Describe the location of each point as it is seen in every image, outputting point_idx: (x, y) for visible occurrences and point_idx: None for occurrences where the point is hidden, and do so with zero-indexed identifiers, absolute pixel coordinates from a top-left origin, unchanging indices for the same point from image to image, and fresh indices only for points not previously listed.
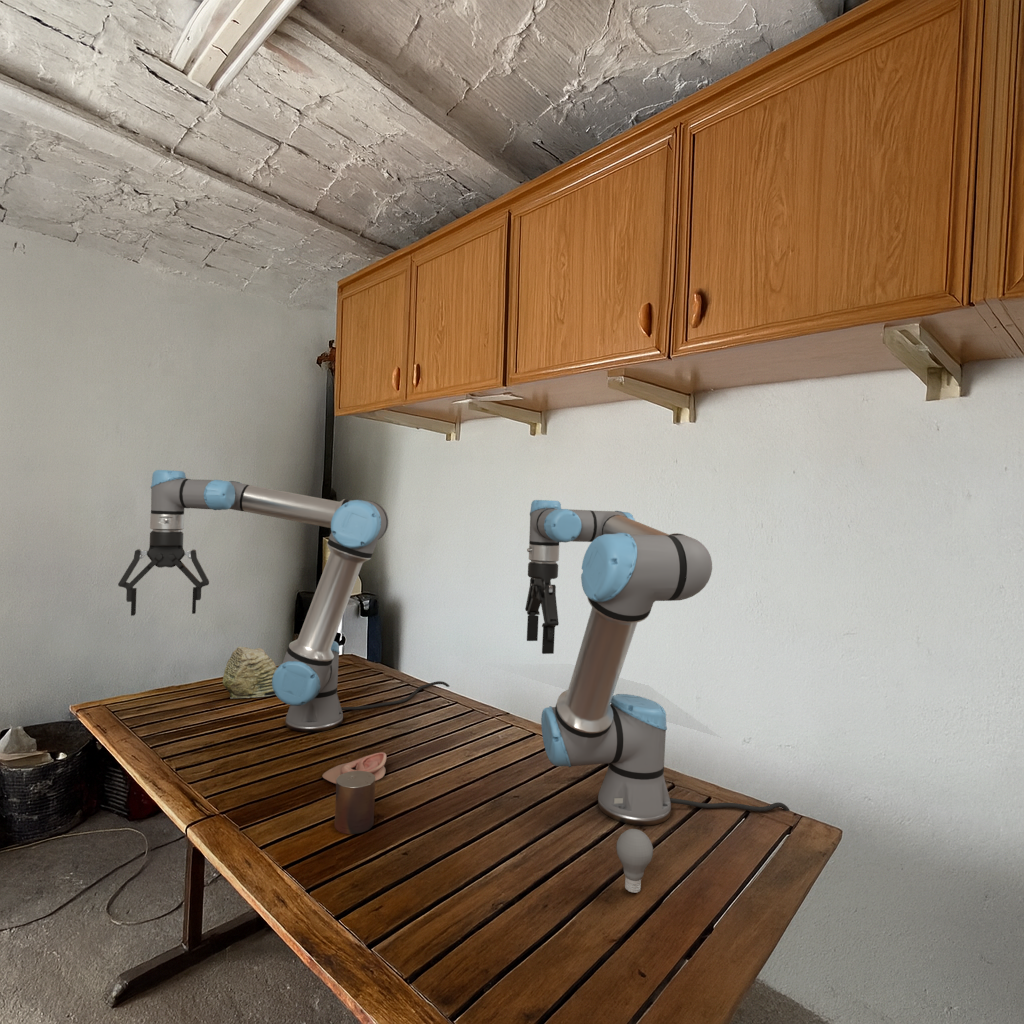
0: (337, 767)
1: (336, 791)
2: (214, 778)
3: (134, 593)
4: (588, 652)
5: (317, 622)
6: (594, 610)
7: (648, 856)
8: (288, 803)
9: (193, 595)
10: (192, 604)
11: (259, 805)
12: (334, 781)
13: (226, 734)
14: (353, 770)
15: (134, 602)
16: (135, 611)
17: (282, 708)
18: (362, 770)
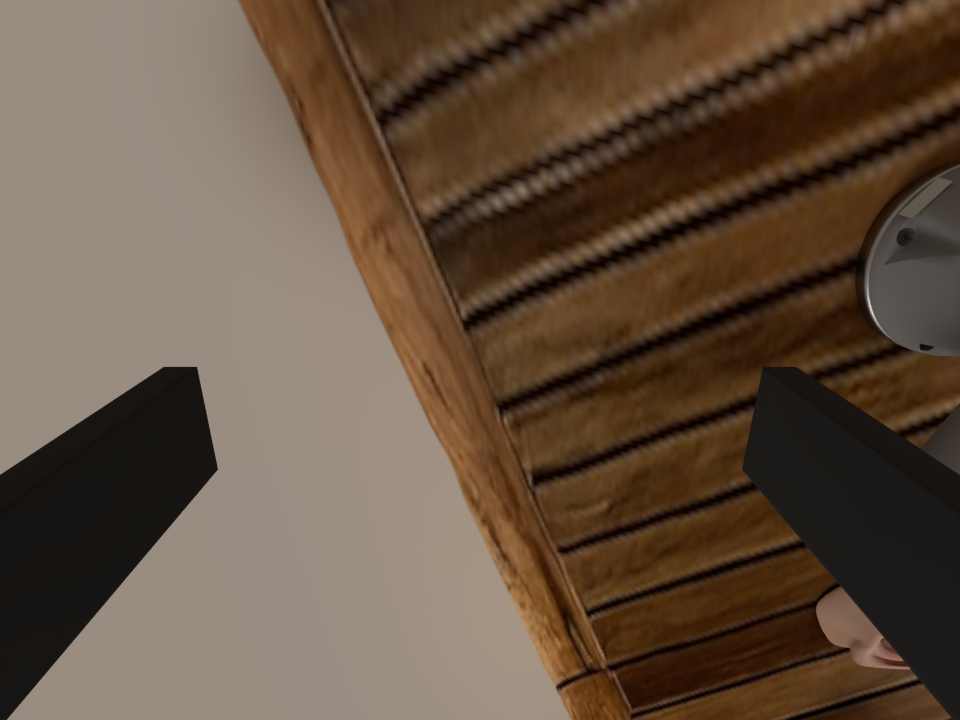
0: (858, 618)
1: None
2: (609, 545)
3: (36, 675)
4: None
5: None
6: None
7: None
8: (722, 669)
9: (888, 630)
10: (798, 534)
11: (673, 662)
12: (828, 636)
13: (669, 281)
14: (879, 654)
15: (133, 564)
16: (187, 401)
17: (915, 46)
18: (895, 660)
